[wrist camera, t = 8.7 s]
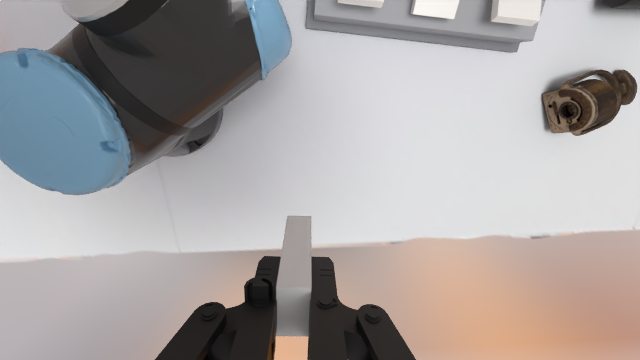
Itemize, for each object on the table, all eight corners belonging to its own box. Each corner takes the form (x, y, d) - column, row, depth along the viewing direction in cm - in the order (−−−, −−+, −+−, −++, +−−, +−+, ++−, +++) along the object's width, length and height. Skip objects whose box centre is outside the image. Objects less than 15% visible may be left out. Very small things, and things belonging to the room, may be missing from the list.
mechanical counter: (579, 55, 38) (567, 133, 39) (683, 59, 38) (667, 138, 39) (541, 69, 45) (531, 134, 47) (628, 72, 45) (616, 139, 46)
